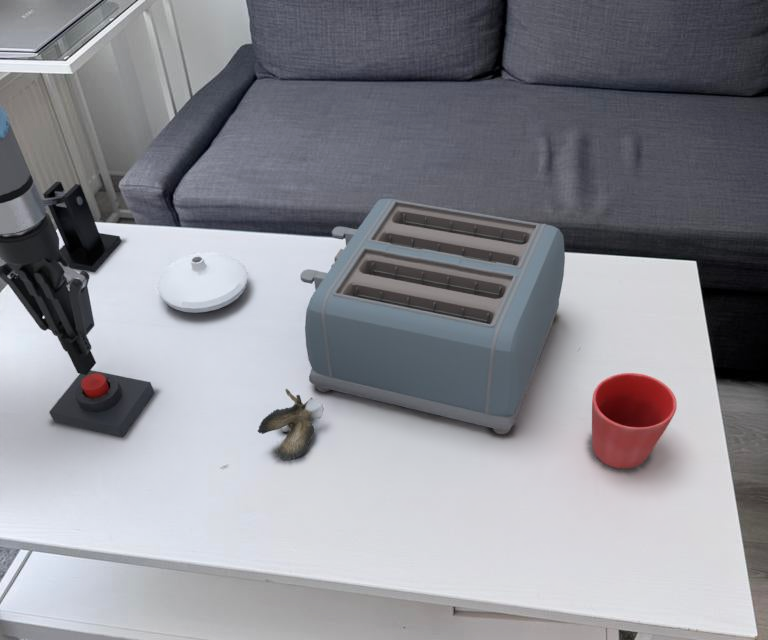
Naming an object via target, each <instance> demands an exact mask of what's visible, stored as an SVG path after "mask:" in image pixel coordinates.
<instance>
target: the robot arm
mask: <svg viewBox="0 0 768 640" xmlns="http://www.w3.org/2000/svg"><path fill="white" fill-rule="evenodd" d="M42 199H43V198H42V197H41V194H40V192H39V189H38V187H37V185H36V182H35V180H34V178H33V176H32V173H31V171H30V168H29V166H28V164H27V161H26V159H25V157H24V154H23V151H22V149H21V146H20V145H19V143H18V139H17V138H16V135H15V132H14V130H13V128H12V126H11V124H10V119H9V116H8V114H7V112H6V110H5V109H4V108H3V106H2V105H1V104H0V259H1V260H2V261H3V262H2V263H1V264H0V279H2V281H4V283H6V284H7V285H8V287H9V288H10V289H11V291H12V292H13V293H14V295H15V296H16V297H17V299H18V300H19V301H20V303H21V304H22V306H23V307H24V308H25V310H26V311H27V312H28V314H29V315H30V316H31V318H32V319H33V320H34V322H35V324H37V326H38V327H39V328H40V329H41V330H42V331H47V330H49V331H51V333H52V334H53V335H54V336H55V337H57V339H58V341H59V343H60V345H61V348H62V349H63V350H64V352H67V355H68V357H69V359H70V361H71V362H72V364H73V365H72V366H74V369H75V371H76V373H77V374H78V375H79V374H84V375H87V374H88V373H89V371H90V370H92V369H93V367H94V366H95V365H96V364H97V362H96V359H95V357H94V355H93V353H92V351H91V350H92V344H91V342H90V340H89V338H88V336H87V335H88V334H89V333H90V332H91V331H92V329H94V327H95V326H96V325H95V321H94V320H95V319H94V314H93V309H92V304H91V299H90V293H89V288H88V284H89V280H90V274H89V273H88V272H87V271H86V270H80V272H78V271H76V270H74V268H70V267H69V265H68V262H67V260H66V259H65V258H64V257H63V256H62V254H61V253H60V237H59V235H58V232H57V229H56V228H55V225H54V223H53V221H52V218H51V216H50V214H49V213H48V212H47V208H46V206H44V203H43V201H42Z"/></svg>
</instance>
